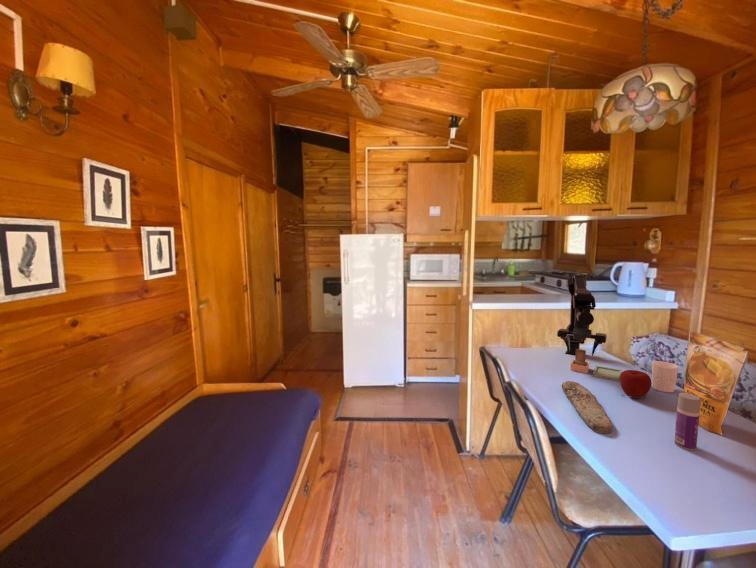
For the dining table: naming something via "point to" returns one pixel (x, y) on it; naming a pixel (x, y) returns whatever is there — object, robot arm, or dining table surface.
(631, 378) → the apple
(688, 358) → the pancake mix bag
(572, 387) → the french baguette
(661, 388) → the pink cylinder
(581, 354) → the dowel
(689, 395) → the container
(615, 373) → the tray
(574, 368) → the holder
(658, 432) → the dining table surface
